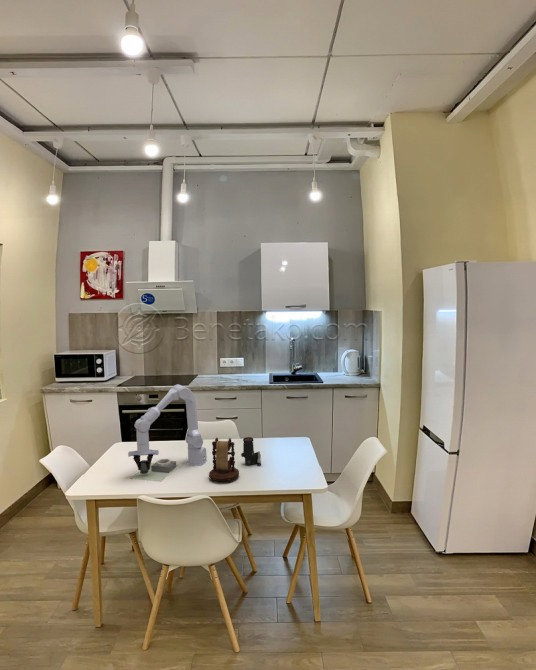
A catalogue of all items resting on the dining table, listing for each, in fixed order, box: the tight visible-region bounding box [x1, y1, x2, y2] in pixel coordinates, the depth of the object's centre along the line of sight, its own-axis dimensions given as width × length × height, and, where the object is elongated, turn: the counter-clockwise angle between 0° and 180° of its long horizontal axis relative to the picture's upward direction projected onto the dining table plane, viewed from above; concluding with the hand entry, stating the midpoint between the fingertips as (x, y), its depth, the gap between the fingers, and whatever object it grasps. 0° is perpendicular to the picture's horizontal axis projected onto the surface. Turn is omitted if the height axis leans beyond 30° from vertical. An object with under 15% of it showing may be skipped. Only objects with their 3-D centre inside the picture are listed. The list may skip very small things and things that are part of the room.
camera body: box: [151, 458, 177, 473], centre depth 215 cm, size 10×8×4 cm
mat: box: [129, 462, 180, 483], centre depth 212 cm, size 17×20×1 cm
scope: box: [240, 436, 262, 466], centre depth 221 cm, size 8×14×10 cm
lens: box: [139, 459, 149, 474], centre depth 208 cm, size 4×4×6 cm
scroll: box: [208, 437, 240, 483], centre depth 204 cm, size 15×15×20 cm
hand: (144, 469), depth 208 cm, fingers closed on lens, 4 cm apart
